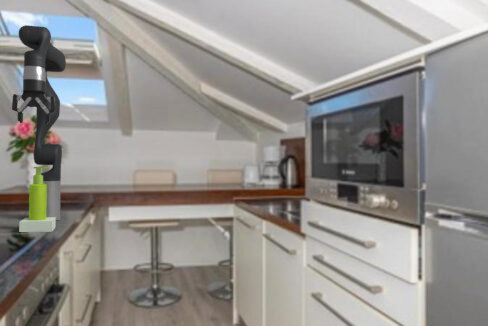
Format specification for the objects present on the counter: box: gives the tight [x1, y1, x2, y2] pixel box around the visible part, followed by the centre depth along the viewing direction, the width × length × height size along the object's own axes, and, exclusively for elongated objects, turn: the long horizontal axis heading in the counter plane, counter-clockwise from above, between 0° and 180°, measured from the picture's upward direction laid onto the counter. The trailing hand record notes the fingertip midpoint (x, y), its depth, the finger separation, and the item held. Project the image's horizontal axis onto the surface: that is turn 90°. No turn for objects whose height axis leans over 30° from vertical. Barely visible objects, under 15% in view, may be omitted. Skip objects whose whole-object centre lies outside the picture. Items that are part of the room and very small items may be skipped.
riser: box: [18, 217, 57, 233], centre depth 154 cm, size 10×11×4 cm
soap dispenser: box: [28, 166, 50, 220], centre depth 154 cm, size 6×7×20 cm
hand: (33, 123), depth 152 cm, fingers open, 8 cm apart
